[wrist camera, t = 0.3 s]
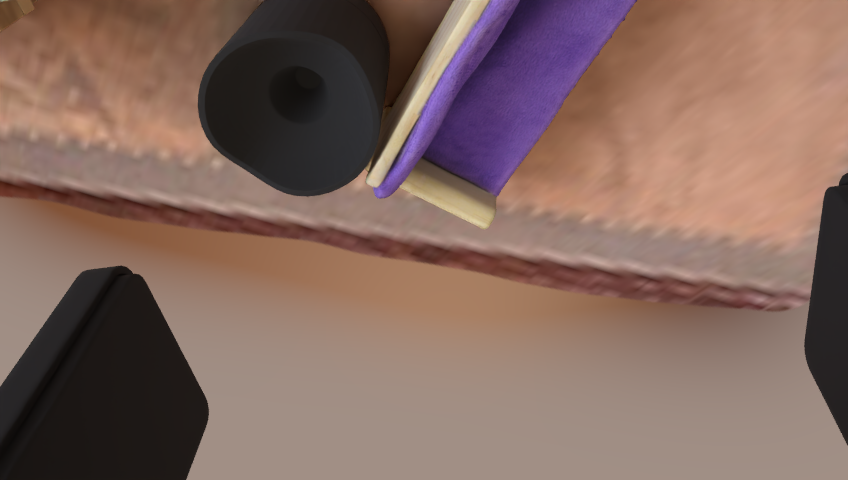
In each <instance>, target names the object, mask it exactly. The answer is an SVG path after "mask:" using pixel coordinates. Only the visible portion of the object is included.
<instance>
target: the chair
mask: <svg viewBox="0 0 848 480" xmlns="http://www.w3.org/2000/svg"><path fill="white" fill-rule="evenodd" d="M36 1H37V0H8V1H2V2H0V32H1V31H3V30H4V29H6V28H7V27H9V26H10V25H11V24H13V23H14V22H16V21H17V20H19V19H20V18H22V17H23V16H25V15H26V14H28V13H29V12H31V11H32V10H34V9H35V8H34V6H33V3H35V2H36Z"/></svg>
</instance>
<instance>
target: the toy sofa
mask: <svg viewBox="0 0 848 480" xmlns="http://www.w3.org/2000/svg"><path fill="white" fill-rule="evenodd" d="M636 1H637V0H454V1H453V3H452V4H451V6H450V8H449V10H448V11H447V13H446V15H445V17H444V19H443V20H442V22H441V24H440V26H439V27H438V29H437V31H436V32H435V34H434V36H433V38H432V39H431V41H430V43H429V45H428V46H427V48H426V50H425V52H424V53H423V55H422V57H421V58H420V60H419V62H418V64H417V65H416V67H415V69H414V70H413V72H412V74H411V76H410V77H409V79H408V81H407V83H406V84H405V86H404V88H403V89H402V91H401V93H400V95H399V96H398V98H397V99H396V101H395V103H394V105H393V106H392V108H391V107H386V108H385V109H384V111H383V113H382V120H381V127H380V134H379V139H378V143H377V146H376V149H375V152H374V154H373V156H372V158H371V160H370V162H369V163H368V165H367V166H366V167H365V169H366V170H367V172H368V174H367V177H366V183H367V184H369V185H371V186H373V189H374V193H375V196H376V197H377V198H386V197H388V196H390V195H391V194H393V193H394V192H395V191H396V190H397V189H398V188H401V189H403V190H405V191H407V192H409V193H411V194H413V195H415V196H417V197H419V198H421V199H423V200H425V201H427V202H429V203H431V204H433V205H435V206H437V207H439V208H441V209H443V210H446V211H448V212H450V213H452V214H454V215H456V216H458V217H460V218H462V219H464V220H466V221H468V222H470V223H472V224H474V225H476V226H478V227H480V228H482V229H487V228H488V227H489V226H490V224H491V223H492V221H493V219H494V217H495V214H496V198H497V196H498V195H499V193H500V192H501V190H502V188H503V187H504V186H505V184H506V183H507V181H508V180H509V178H510V177H511V175H512V174H513V173H514V171H515V170H516V169H517V167H518V166H519V165H520V164H521V162H522V161H523V160H524V158H525V157H526V156H527V154H528V153H529V151H530V150H531V149H532V147H533V146H534V145H535V144H536V142H537V141H538V140H539V138H540V137H541V135H542V134H543V132H544V131H545V130H546V129H547V127H548V126H549V124H550V123H551V121H552V120H553V118H554V117H555V115H556V114H557V112H558V111H559V109H560V108H561V106H562V104H563V102H564V100H565V99H566V97H567V96H568V94H569V93H570V91H571V90H572V89H573V88H574V87H575V85H576V83H577V82H578V80H579V79H580V77H581V76H582V74H583V73H584V72H585V71H586V70H587V68H588V66H589V65H590V64H591V62H592V61H593V60H594V58H595V57H596V56H597V55H598V54H599V52H600V50H601V49H602V47H603V46H604V44H605V43H606V42H607V41H608V39H610V38H611V37H612V34H613V33H614V31H615V30H616V29H617V27H618V26H619V24H620V23H621V21H624V20H625V17H626V15H627V13H628V12H629V11H630V9H631V8H632V6H633V5H634V3H635V2H636Z"/></svg>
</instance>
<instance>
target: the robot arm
mask: <svg viewBox="0 0 848 480" xmlns="http://www.w3.org/2000/svg"><path fill="white" fill-rule="evenodd" d="M804 347H805V355H806V360H807V364H808V367H809V369H810V371H811V373H812V375H813V377H814V379H815V381H816V383H817V385H818V387H819V389H820V391H821V393H822V395H823V397H824V399H825V401H826V403H827V405H828V407H829V409H830V411H831V413H832V415H833V417H834V419H835V421H836V423H837V425H838V427H839V429H840V431H841V433H842V435H843V437H844V439H845V441H846V443H847V445H848V173H846V174H845V175H843V176H842V178H841V180H840V182H839V186H834V187H829V188H828V189H827V190H826V192H825V196H824V201H823V208H822V216H821V223H820V231H819V238H818V245H817V253H816V260H815V268H814V275H813V283H812V290H811V297H810V306H809V312H808V320H807V327H806V334H805V345H804ZM208 415H209V409H208V403H207V400H206V397H205V395H204V393H203V391H202V389H201V387H200V386H199V384H198V382H197V380H196V378H195V376H194V374H193V372H192V370H191V368H190V366H189V364H188V362H187V361H186V359H185V357H184V355H183V353H182V351H181V350H180V347H179V345H178V343H177V341H176V339H175V338H174V335H173V334H172V332H171V330H170V328H169V326H168V324H167V322H166V320H165V318H164V316H163V314H162V312H161V310H160V309H159V307H158V305H157V303H156V301H155V299H154V297H153V295H152V293H151V291H150V289H149V288H148V285H147V284H146V282H145V280H144V279H143V277H141V276H140V275H138V274H133V273H132V271H131V270H129V269H128V268H127V267H124V266H115V267H107V268H99V269H91V270H86V271H83V272H82V273H81V274H80V275H79V276H78V277H77V278H76V280H75V281H74V282H73V284H72V285H71V287H70V288H69V290H68V291H67V292H66V294H65V295H64V297H63V298H62V300H61V301H60V302H59V304H58V305H57V307H56V308H55V309H54V311H53V312H52V314H51V315H50V317H49V318H48V319H47V321H46V322H45V324H44V325H43V327H42V328H41V329H40V331H39V332H38V334H37V335H36V337H35V338H34V339H33V341H32V342H31V344H30V345H29V347H28V348H27V349H26V351H25V353H24V354H23V355H22V357H21V358H20V359H19V361H18V362H17V364H16V365H15V366H14V368H13V369H12V371H11V372H10V374H9V375H8V376H7V378H6V379H5V381H4V382H3V384H2V385H1V386H0V480H186V479H187V476H188V473H189V471H190V468H191V465H192V463H193V460H194V457H195V455H196V452H197V449H198V446H199V444H200V441H201V439H202V436H203V433H204V430H205V428H206V425H207V421H208Z"/></svg>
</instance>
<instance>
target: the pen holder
mask: <svg viewBox="0 0 848 480" xmlns="http://www.w3.org/2000/svg"><path fill="white" fill-rule="evenodd" d="M388 69H389V43H388V39H387V34H386V32H385V29H384V26H383V24H382V22H381V20H380V18H379V17H378V15H377V14H376V12H375V11H374V9H373V8H372V7H371V6H370V5H369V4H368V3H367V2H366V1H365V0H265V1H264V2H263V3H262V4H261V5H260V6H259V7H258V8H257V9H256V10H255V11H254V12H253V13H252V15H251V16H250V17H249V18H248V19H247V20H246V21H245V23H244V24H243V25H242V26H241V27H240V28H239V30H238V31H237V32H236V33H235V34H234V35H233V36H232V38H231V39H230V40H229V41H228V42H227V43H226V44H225V46H224V47H223V48H222V49H221V50H220V51H219V53H218V54H217V55H216V56H215V58H214V59H213V60H212V61H211V63H210V64H209V66H208V67H207V69H206V71H205V73H204V75H203V78H202V81H201V84H200V88H199V94H198V110H199V118H200V121H201V125H202V128H203V130H204V132H205V135H206V137H207V138H208V140H209V141H210V143H211V144H212V146H214V147H215V148H216V149H217V150H218V151H219V152H220V153H221V154H222V155H224V156H225V157H226V158H228V159H229V160H231V161H232V162H234V163H235V164H237V165H239V166H240V167H242V168H243V169H245V170H247V171H248V172H250V173H251V174H253V175H254V176H256V177H257V178H259V179H260V180H262V181H263V182H265V183H266V184H268V185H270V186H272V187H273V188H275V189H277V190H279V191H282V192H284V193H286V194H291V195H295V196H316V195H321V194H325V193H329V192H332V191H334V190H337V189H339V188H341V187H343V186H345V185H346V184H348V183H349V182H351V181H352V180H353V179H355V178H356V177H357V176H358V175H359V174H360V173H361V172H362V171H363V170H364V169H365V167H366V166H367V165H368V163H369V162H370V160H371V158H372V156H373V154H374V152H375V149H376V146H377V143H378V139H379V134H380V127H381V120H382V113H383V106H384V100H385V93H386V86H387V79H388Z"/></svg>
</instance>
